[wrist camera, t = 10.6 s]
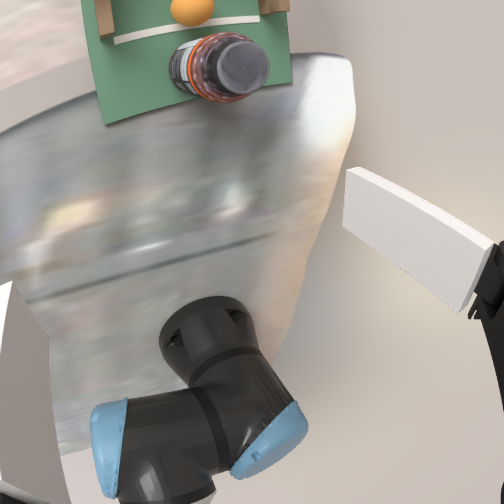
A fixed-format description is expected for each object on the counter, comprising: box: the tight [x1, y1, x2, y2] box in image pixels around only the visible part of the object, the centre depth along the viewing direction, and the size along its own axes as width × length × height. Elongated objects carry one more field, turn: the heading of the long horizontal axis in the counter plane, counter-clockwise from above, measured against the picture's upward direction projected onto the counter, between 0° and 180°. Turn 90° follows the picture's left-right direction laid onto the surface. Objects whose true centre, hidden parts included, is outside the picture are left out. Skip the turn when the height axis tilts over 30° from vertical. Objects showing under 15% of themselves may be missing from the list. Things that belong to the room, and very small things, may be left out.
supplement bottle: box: [169, 32, 270, 103], centre depth 23 cm, size 6×6×11 cm
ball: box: [170, 0, 215, 26], centre depth 21 cm, size 4×4×4 cm
